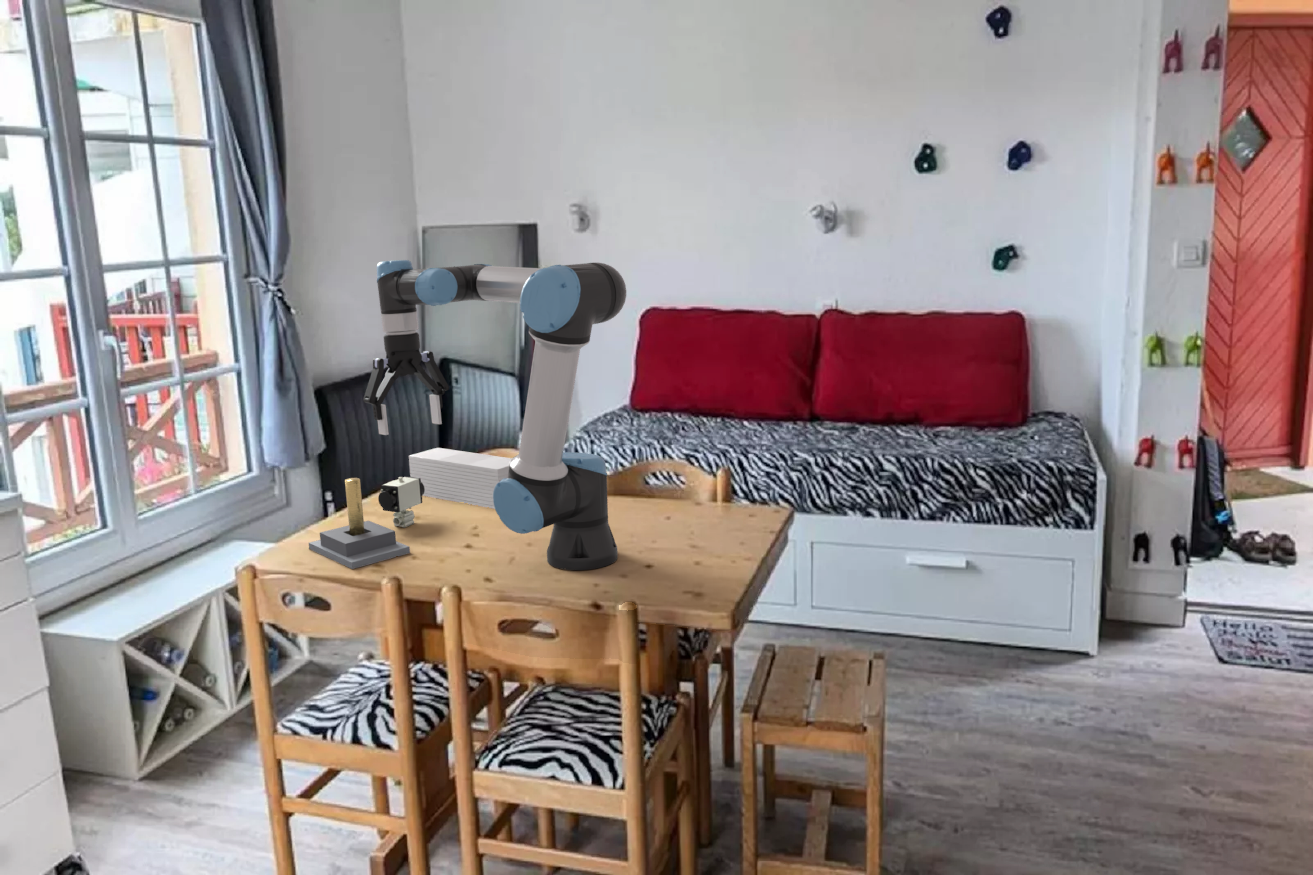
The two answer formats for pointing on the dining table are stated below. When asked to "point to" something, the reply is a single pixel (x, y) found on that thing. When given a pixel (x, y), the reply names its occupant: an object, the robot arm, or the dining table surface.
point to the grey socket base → (359, 545)
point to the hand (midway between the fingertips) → (410, 429)
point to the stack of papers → (459, 475)
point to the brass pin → (354, 506)
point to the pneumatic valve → (401, 498)
